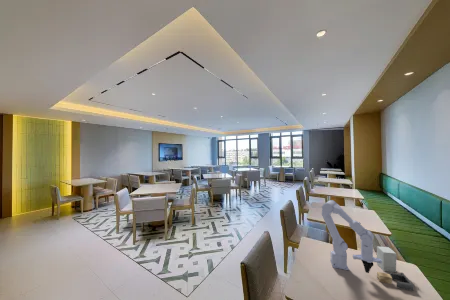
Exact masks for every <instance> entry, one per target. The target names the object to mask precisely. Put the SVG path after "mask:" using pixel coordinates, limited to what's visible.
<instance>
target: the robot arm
mask: <svg viewBox="0 0 450 300" xmlns="http://www.w3.org/2000/svg"><path fill="white" fill-rule="evenodd" d="M331 214H338V215H339V216H340V218H342V219H343V220H344V221H346V222H347V223H348V224H349V228H350V229H352V230H353V231H354V232H355V233H356V234H357V235H358V236H359V238H360V240H361V243H360V244H361V245H360V246H361V247H360V254H352V258H353V260H360V261H361V263H362V265H363V268H364V271H365V273H367V274H369V273H370V271H371V269H372V268H373V267H374V263H376V264H377V263H380V264H382V260H381V259H378V258H377V257H374V245H373V242H374V241H373V240H374V238H375V236H374V233H373V232H372V231H371V230H369V229H367V228H365V227H364V226H363V225H361V222H360V221H357V220H354V219H353V218H352V217H351V216H350V215H349V214H348V213H347V212H346V211H344V209H343V208H342V207H341V206H340V204H338V203H337V202H336V201H335V200H333V199H331V200H330V199H329V200H328V201H326V202H325V203H323V204H322V206H321V216H322V218H323V221H324V222H325V224H326V228H327V229H328V230H327V231H328V232H329V235H330V236H331V239H332V247H333V250H331V251H330V263H331V266H332V268H334V269H340V270H344V271H349V270H350V269H349V266H348V254H347V250H348V249H349V247H348V243H346V242H345V240H344V238H342V237H341V235H340V233H339V231H338V229H337V227H336V224H335V221H334V219H333V216H332V215H331Z"/></svg>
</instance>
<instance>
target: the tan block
mask: <svg viewBox="0 0 450 300" xmlns="http://www.w3.org/2000/svg"><path fill="white" fill-rule="evenodd" d="M376 272H377V273H376V279H377V280H378V281H379V282H381V283H385V284H390V285H393V279H392V277H391V276H390V273H386V272H381V271H376Z"/></svg>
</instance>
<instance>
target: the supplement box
mask: <svg viewBox="0 0 450 300" xmlns="http://www.w3.org/2000/svg"><path fill="white" fill-rule="evenodd" d="M376 258H378V259H381V260H382V264H380V263H377V262H376V265H377V266H378V267H379V268H380V269H382V271H383V272H389V273H397V253H396V252H395V251H394V250H393V249H392V248H390V247H389V246H378V245H377V246H376Z"/></svg>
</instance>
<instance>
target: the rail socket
mask: <svg viewBox="0 0 450 300" xmlns="http://www.w3.org/2000/svg"><path fill="white" fill-rule="evenodd" d="M389 274H390V276H391V277H392V280H395V281H396V288H398V289H400V290H406V291H411V292H414V289H415V288H414V287H415V286H414V284H413V283H412V282H411V280H410V279H409V278H408V277H407V276H406V275H405V274H404V273H403V272H400V273H396V272H389Z"/></svg>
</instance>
